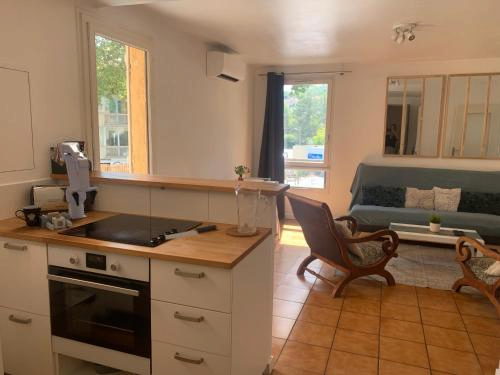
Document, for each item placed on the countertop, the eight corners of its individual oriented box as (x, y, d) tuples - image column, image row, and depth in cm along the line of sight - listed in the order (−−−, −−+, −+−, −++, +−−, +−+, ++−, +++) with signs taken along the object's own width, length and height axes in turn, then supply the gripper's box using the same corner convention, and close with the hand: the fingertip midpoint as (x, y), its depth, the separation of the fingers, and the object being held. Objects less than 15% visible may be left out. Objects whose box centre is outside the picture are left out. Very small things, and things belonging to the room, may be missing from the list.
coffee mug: (46, 223, 208) (44, 205, 206) (35, 227, 199) (34, 208, 198) (26, 222, 209) (24, 205, 208) (15, 226, 201) (13, 208, 199)
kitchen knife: (167, 239, 177) (163, 233, 181) (167, 243, 178) (162, 238, 182) (220, 228, 195) (215, 223, 198) (219, 232, 196) (214, 227, 199)
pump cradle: (45, 227, 200) (44, 222, 200) (67, 223, 207) (67, 219, 207) (50, 230, 193) (49, 225, 193) (73, 226, 201) (73, 222, 201)
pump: (52, 227, 201) (51, 215, 200) (62, 225, 204) (61, 214, 203) (55, 229, 197) (54, 217, 196) (66, 227, 200) (65, 216, 199)
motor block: (39, 225, 203) (38, 214, 202) (66, 221, 213) (66, 210, 212) (42, 227, 199) (41, 216, 198) (70, 223, 208) (69, 212, 207)
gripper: (72, 182, 199) (73, 207, 201) (99, 179, 209) (101, 204, 211) (67, 181, 204) (69, 205, 206) (94, 178, 214) (96, 202, 216)
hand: (85, 205), depth 209 cm, fingers open, 7 cm apart
